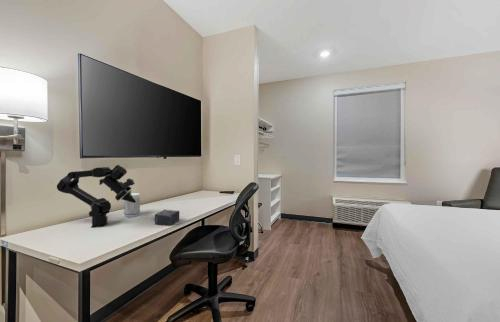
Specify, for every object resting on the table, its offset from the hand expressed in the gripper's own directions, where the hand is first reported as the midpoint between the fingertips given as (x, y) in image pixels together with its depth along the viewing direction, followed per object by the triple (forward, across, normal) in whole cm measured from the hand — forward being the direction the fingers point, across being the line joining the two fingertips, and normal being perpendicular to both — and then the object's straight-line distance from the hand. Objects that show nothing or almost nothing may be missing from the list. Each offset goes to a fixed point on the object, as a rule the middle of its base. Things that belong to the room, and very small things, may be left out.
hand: (135, 202), depth 124 cm
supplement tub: (+6, +20, +12) cm, 24 cm away
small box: (+16, -3, -3) cm, 17 cm away
